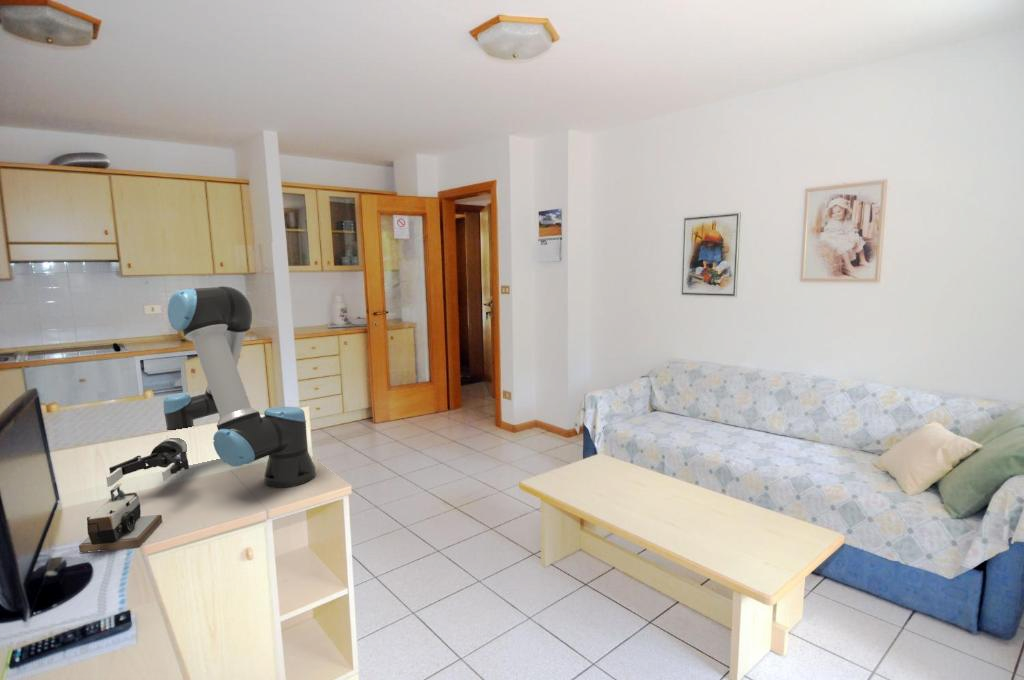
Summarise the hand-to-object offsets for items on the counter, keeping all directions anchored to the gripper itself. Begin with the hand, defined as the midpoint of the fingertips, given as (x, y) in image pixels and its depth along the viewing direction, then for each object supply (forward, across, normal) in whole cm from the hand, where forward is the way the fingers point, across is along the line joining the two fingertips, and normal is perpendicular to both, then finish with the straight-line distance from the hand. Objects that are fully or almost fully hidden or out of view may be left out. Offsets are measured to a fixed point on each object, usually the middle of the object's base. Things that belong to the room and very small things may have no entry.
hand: (136, 479), depth 147 cm
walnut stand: (+10, 0, -11) cm, 15 cm away
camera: (+11, 0, -9) cm, 14 cm away
